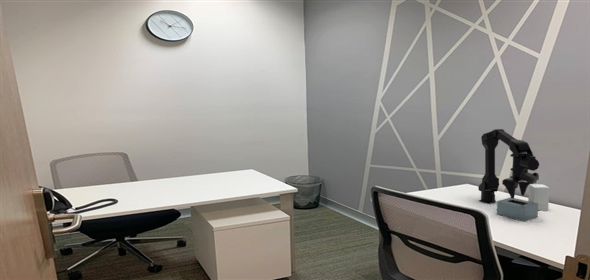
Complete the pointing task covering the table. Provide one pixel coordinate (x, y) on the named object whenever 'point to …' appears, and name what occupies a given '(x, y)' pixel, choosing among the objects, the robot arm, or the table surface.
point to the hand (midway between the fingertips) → (517, 196)
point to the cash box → (517, 209)
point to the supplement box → (539, 196)
